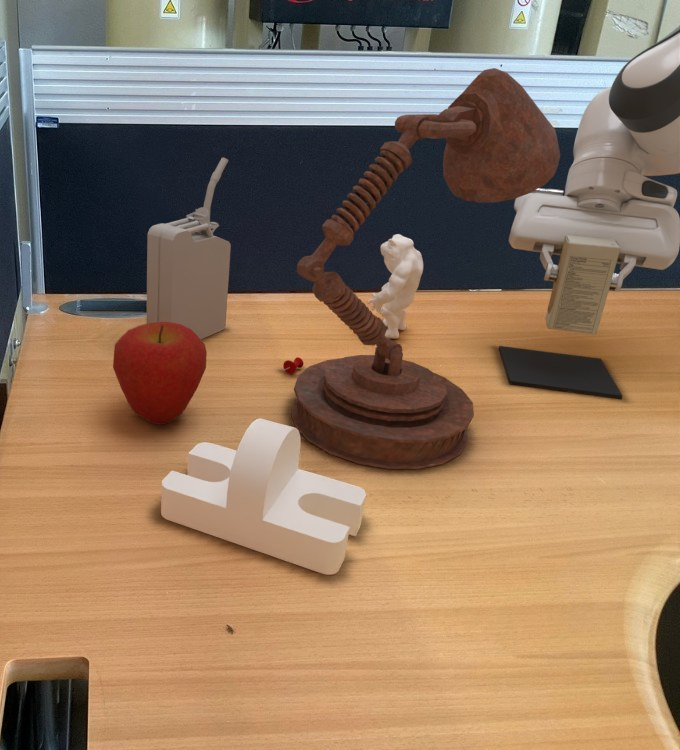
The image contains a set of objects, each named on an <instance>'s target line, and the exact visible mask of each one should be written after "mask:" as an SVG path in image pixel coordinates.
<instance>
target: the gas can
mask: <svg viewBox="0 0 680 750" xmlns="http://www.w3.org/2000/svg"><path fill="white" fill-rule="evenodd" d="M228 163H229V159H228V158H225V157H221V159H220V160H219V162H218V163H217V166H216V168H215V170H214V171H213V172H212V174H211V177H210V180H209V182H208V184H207V188H206V192H205V197H204V201H203V207H199V208H195V209H194V210H195V211H193V212H192V213H189V214H186V217H185V218H181V219H178V220H175V221H170V222H167V223H157V224H154V225H152V226H151V227H149V229H148V232H147V242H146V243H147V246H146V247H147V248H146V252H147V257H146V315H145V316H146V319H145V320H146V323H145V324H149V323H155V322H172V323H177V324H181V325H183V326H185V327H187V328H189V329H191V330H192V331H193V332H194V333H195V334H196V335H197V336H198V337H199V338H200V339H201V340H204V339H205V338H208V337H210V336H212V335H215V334H216V333H219V332H221V331H223V330H224V329H225V327H226V324H227V311H228V296H229V295H228V294H229V293H228V292H229V278H230V266H231V265H230V264H231V263H230V262H231V250H232V249H231V247H232V245H231V243H230V241H228V240H225V239H224V238H221V237H218V236H216V235H214V232H215V230H216V229H217V228H218V227H220V224H219V223H218V222H215V221H211V206H212V203H213V198H214V193H215V188H216V186H217V184H218V182H219V181H220V179H221V177H222V174H223V172H224V170H225V168H226V166H227V164H228Z"/></svg>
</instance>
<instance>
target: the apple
mask: <svg viewBox="0 0 680 750" xmlns="http://www.w3.org/2000/svg"><path fill="white" fill-rule="evenodd" d="M207 352H208V351H207V348H206V344H205V343H204V342H203V340H202V339H200V338H199V337H198V336H197V335H196V334H195V333H194V332H193V331H192V330H191V329H189V328H187V327H185V326H183V325H181V324H177V323H172V322H155V323H149V324H146V323H145V324H141V325H137V326H135V327H133V328H130V329H128V330H127V331H126V332H124V334H123V335H121V336H120V338H119V339H118V340H117V341H116V342H115V344H114V348H113V360H112V361H113V362H112V368H113V371H114V375H115V377H116V379H117V381H118V384H119V386H120V389H121V392H122V394H123V395H124V397H125V399H126V401H127V404H128V405H129V407H130V408H131V410H132V411H133V413H134V414H135V415H137V416H139V417H141V418H142V419H144V420H146V421H148V422H149V423H151V424H154V425H165V424H169V423H171V422H173V421H174V420H175V419H177V418H178V417H179V416H181V415H182V414H183V413H184V412H185V410H186V409H187V407H188V405H189V404H190V401H192V399H193V396H194V395H195V393H196V392H197V390H198V387H199V385H200V382H201V380H202V378H203V376H204V373H205V371H206V368H207Z"/></svg>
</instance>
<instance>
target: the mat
mask: <svg viewBox="0 0 680 750" xmlns="http://www.w3.org/2000/svg"><path fill="white" fill-rule="evenodd" d="M498 351H499V354H500V357H501V358H500V359H501V361H502V364H503V367H504V371H505V374H506V376H507V381H508V384H509V385H516V386H523V387H531V388H537V389H545V390H554V391H558V392H559V391H561V392H568V393H575V394H582V395H583V394H584V395H590V396H597V397H603V398H605V397H607V398H613V399H620V400H621V399H622V398H623V394H622V393H621V390H620V389H619V387H618V385H617V383H616V382H615V380H614V378H613V377H612V375H611V374H610V372H609V370H608V368H607V367H606V365H605V363H604V362H603V359H602V358H599V357H592V356H585V355H584V356H583V355H575V354H569V353H568V354H567V353H559V352H551V351H542V350H536V349H528V348H520V347H519V348H518V347H511V346H504V345H503V346H502V345H499V346H498Z"/></svg>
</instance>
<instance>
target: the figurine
mask: <svg viewBox="0 0 680 750" xmlns="http://www.w3.org/2000/svg"><path fill="white" fill-rule="evenodd" d="M414 244H415V243H414V241H413V240H412V239H411V238H409V237H406V236H403V235H402V234H400V233H397V234H393V235H392V237H391V238H389V239H388V240H387V241H385V242H383V243H382V244H380V254H381V256H382V257H383V262H384V265H385V267H386V269H387V271H389V273H390V274H391V275H390V276H389V278H388V282H386V283H384V284H383V286H381V291H379V292H378V293H375V292H372V293H371V297H373V298H371V299H368V300H367V301H366V304H367V305H370V304H372V306H371V308H370V309H371V311H376V313H377V314H380V315H381V316H382V317H383V319H382V321H383V323H384V324H385V326H386V327H387V330H386V333H385V336H386V337H387V338H388V339H398V338H400V333H399V330H401V331H405V330H406V329H407V326H408V325H407V323H406V316H407V310H406V309H407V308H409V307H410V306H411V304H412V303H413V302H414V300H415V295H416V292H417V291H418V288H419V285H420V282H421V278H422V275H423V272H424V260H423V255H422V253H421V252H420V251H419V250H417V249H416V248H415V246H414Z"/></svg>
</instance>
